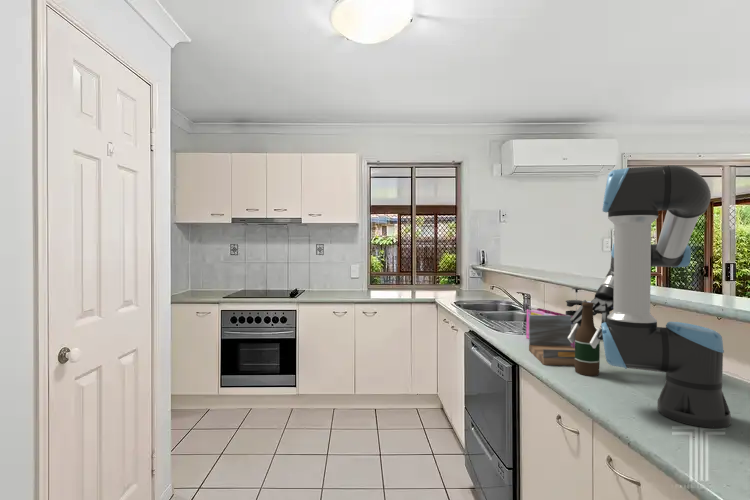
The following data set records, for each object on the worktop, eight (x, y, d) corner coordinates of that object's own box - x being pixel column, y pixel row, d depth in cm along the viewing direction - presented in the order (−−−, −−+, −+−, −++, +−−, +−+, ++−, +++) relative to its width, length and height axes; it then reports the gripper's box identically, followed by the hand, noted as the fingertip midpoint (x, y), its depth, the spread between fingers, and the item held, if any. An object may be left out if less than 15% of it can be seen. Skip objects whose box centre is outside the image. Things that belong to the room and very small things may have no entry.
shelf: (589, 366, 152) (590, 325, 152) (543, 365, 154) (544, 325, 153) (569, 351, 172) (569, 315, 172) (528, 350, 174) (529, 315, 173)
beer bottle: (603, 377, 140) (603, 304, 139) (577, 375, 142) (578, 303, 141) (595, 369, 148) (596, 301, 147) (571, 368, 149) (572, 300, 149)
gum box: (523, 337, 196) (523, 308, 196) (538, 336, 198) (538, 307, 198) (559, 351, 173) (559, 317, 173) (575, 349, 175) (576, 316, 175)
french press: (591, 341, 188) (591, 289, 188) (568, 340, 190) (569, 289, 189) (582, 335, 200) (582, 286, 199) (561, 334, 201) (561, 286, 201)
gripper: (644, 302, 143) (615, 357, 135) (588, 295, 160) (559, 343, 153) (635, 287, 140) (605, 342, 132) (579, 282, 158) (549, 330, 150)
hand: (580, 343), depth 143 cm, fingers closed on beer bottle, 7 cm apart
